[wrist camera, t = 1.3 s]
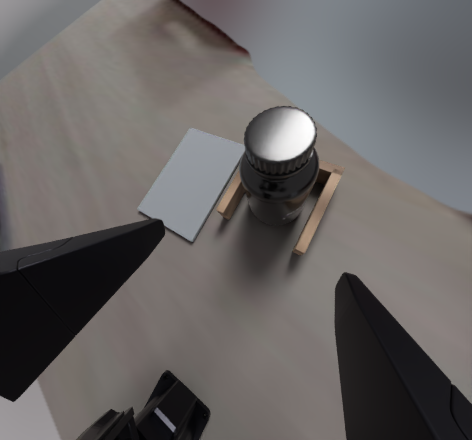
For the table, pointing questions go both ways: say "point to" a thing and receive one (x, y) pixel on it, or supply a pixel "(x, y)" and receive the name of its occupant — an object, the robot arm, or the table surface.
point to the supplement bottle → (279, 163)
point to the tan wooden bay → (329, 179)
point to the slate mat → (192, 182)
